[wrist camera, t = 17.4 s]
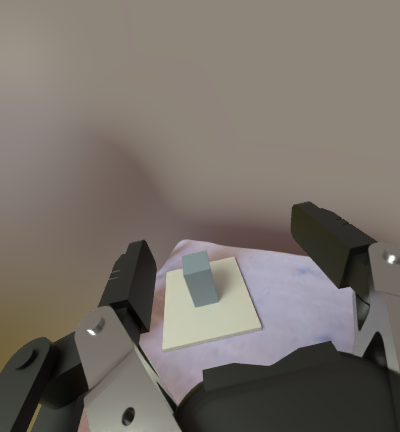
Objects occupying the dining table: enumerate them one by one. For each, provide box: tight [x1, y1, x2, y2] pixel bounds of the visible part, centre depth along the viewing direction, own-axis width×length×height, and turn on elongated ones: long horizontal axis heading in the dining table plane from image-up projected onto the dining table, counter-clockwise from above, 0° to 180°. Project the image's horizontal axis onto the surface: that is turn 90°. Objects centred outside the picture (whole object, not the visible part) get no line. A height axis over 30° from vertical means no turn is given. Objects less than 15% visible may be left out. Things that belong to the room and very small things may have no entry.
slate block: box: [182, 251, 219, 308], centre depth 38 cm, size 5×5×10 cm
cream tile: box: [162, 257, 262, 352], centre depth 41 cm, size 18×18×1 cm
